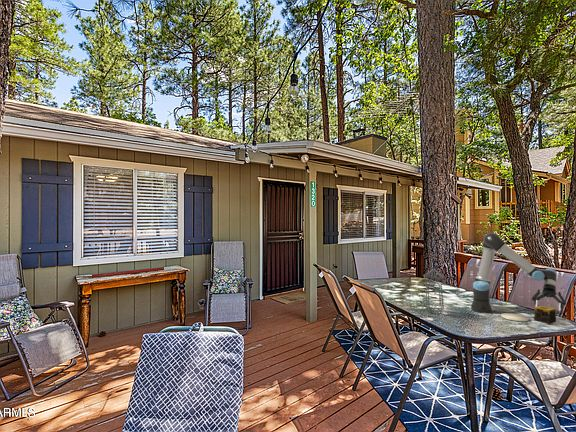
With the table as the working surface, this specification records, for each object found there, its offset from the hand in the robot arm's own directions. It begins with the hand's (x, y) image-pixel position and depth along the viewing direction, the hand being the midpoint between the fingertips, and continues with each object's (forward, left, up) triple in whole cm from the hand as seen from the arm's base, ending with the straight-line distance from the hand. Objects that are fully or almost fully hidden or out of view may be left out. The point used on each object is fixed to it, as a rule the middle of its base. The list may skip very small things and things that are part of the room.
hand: (547, 309), depth 243 cm
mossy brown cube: (0, -3, -8) cm, 9 cm away
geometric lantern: (-56, -53, -8) cm, 78 cm away
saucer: (-15, -14, -8) cm, 22 cm away
